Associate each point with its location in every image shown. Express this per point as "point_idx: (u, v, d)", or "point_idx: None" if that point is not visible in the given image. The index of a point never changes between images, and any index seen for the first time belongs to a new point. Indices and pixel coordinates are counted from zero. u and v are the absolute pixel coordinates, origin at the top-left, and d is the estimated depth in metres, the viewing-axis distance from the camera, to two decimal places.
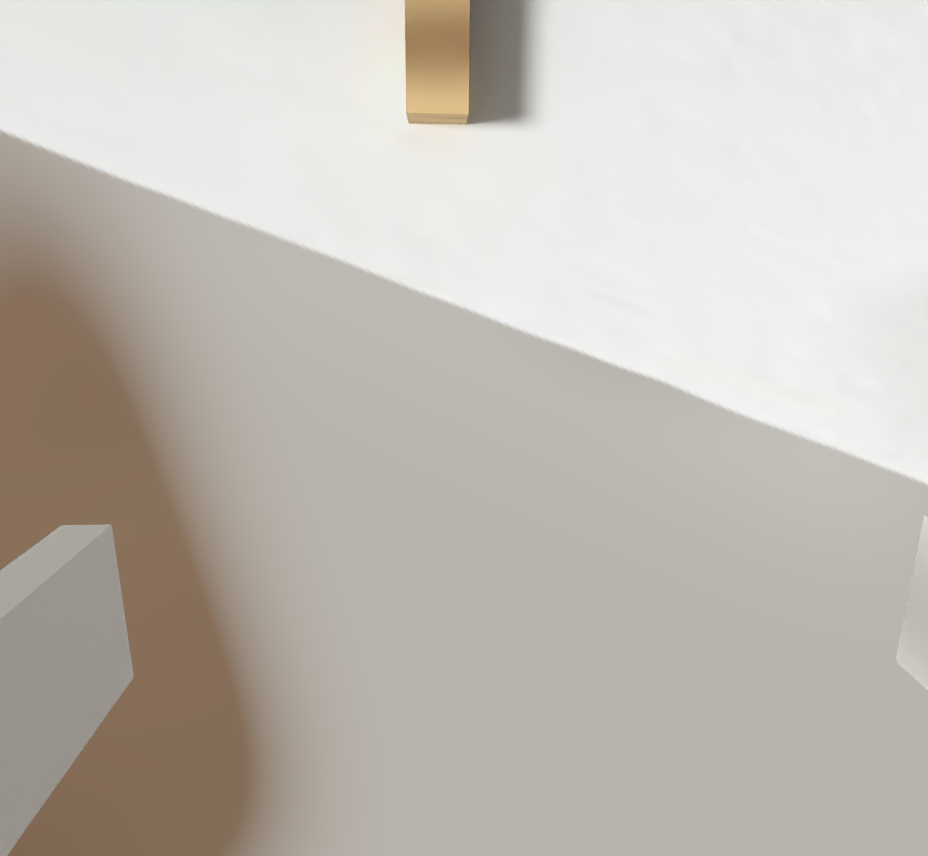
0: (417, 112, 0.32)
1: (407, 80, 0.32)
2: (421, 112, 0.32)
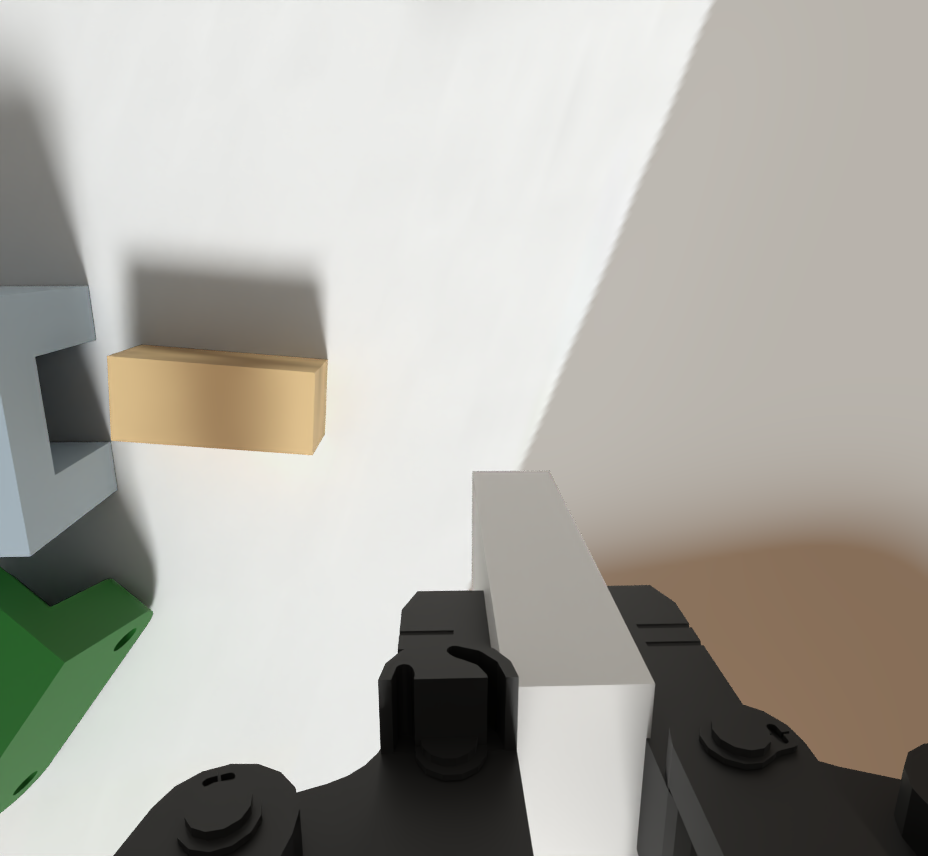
0: (312, 440, 0.24)
1: (272, 450, 0.24)
2: (312, 435, 0.24)
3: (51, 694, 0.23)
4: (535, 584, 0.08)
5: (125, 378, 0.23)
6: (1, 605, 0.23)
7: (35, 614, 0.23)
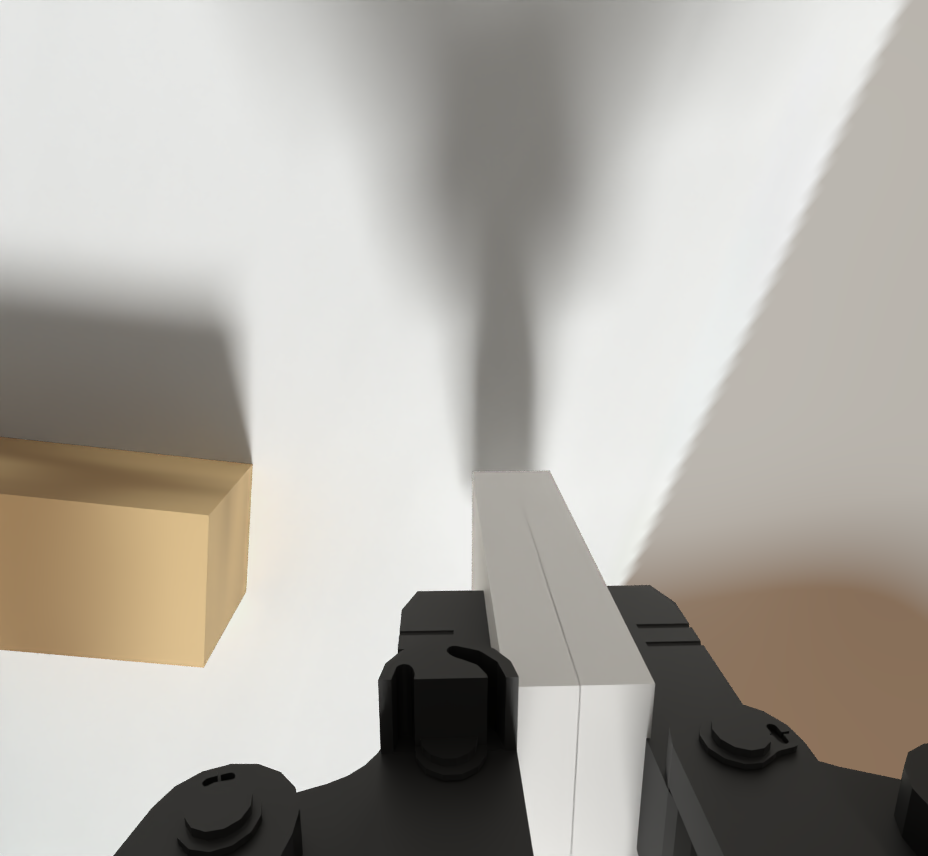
0: (202, 642, 0.12)
1: (124, 655, 0.12)
2: (203, 631, 0.12)
3: None
4: (535, 584, 0.08)
5: None
6: None
7: None
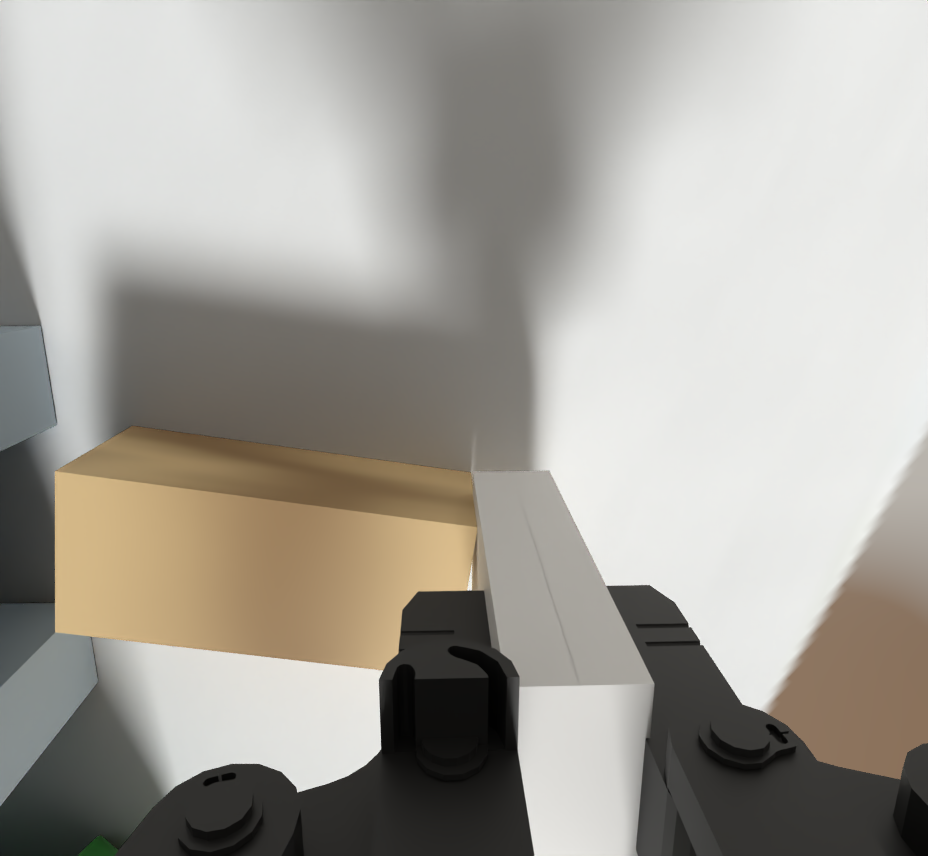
0: None
1: (374, 664, 0.12)
2: None
3: None
4: (536, 584, 0.08)
5: (90, 516, 0.11)
6: None
7: None
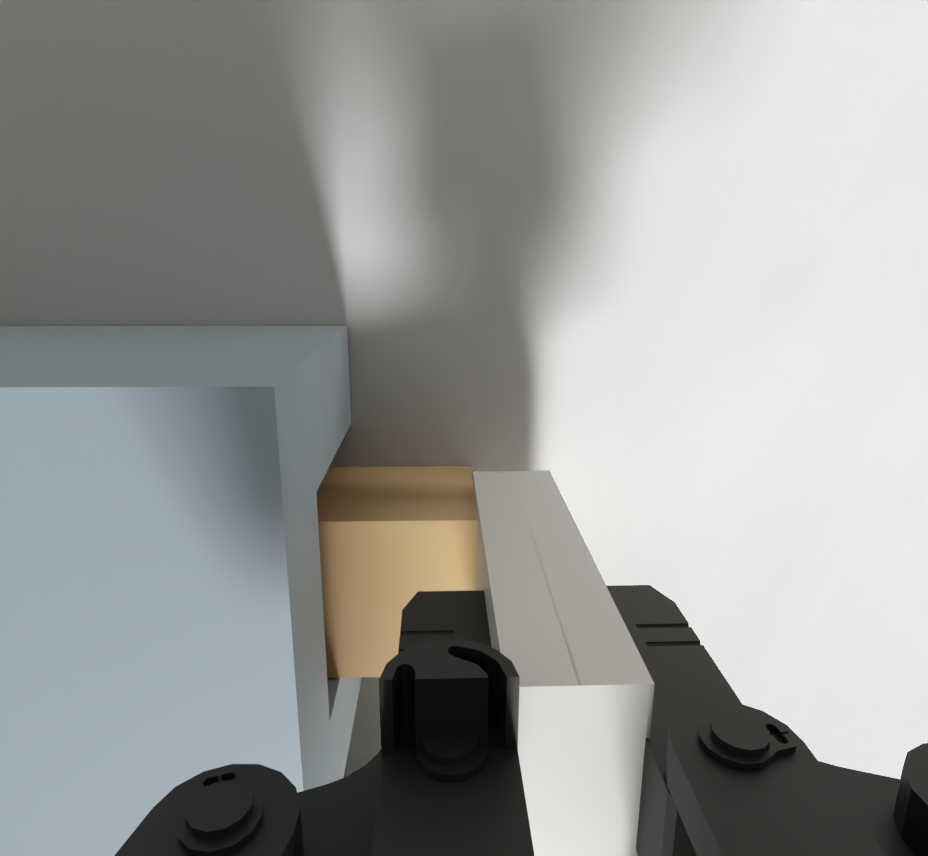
0: None
1: None
2: None
3: None
4: (536, 584, 0.08)
5: None
6: None
7: None
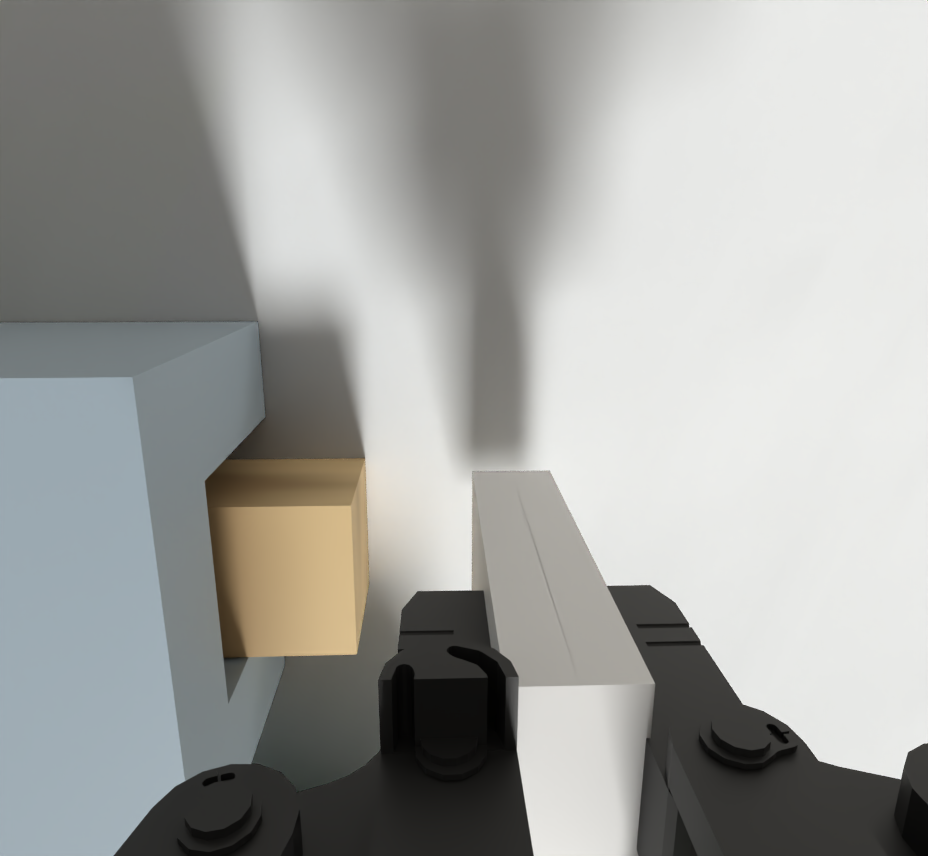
0: (354, 629, 0.12)
1: (280, 651, 0.13)
2: (353, 619, 0.12)
3: None
4: (535, 584, 0.08)
5: None
6: None
7: None
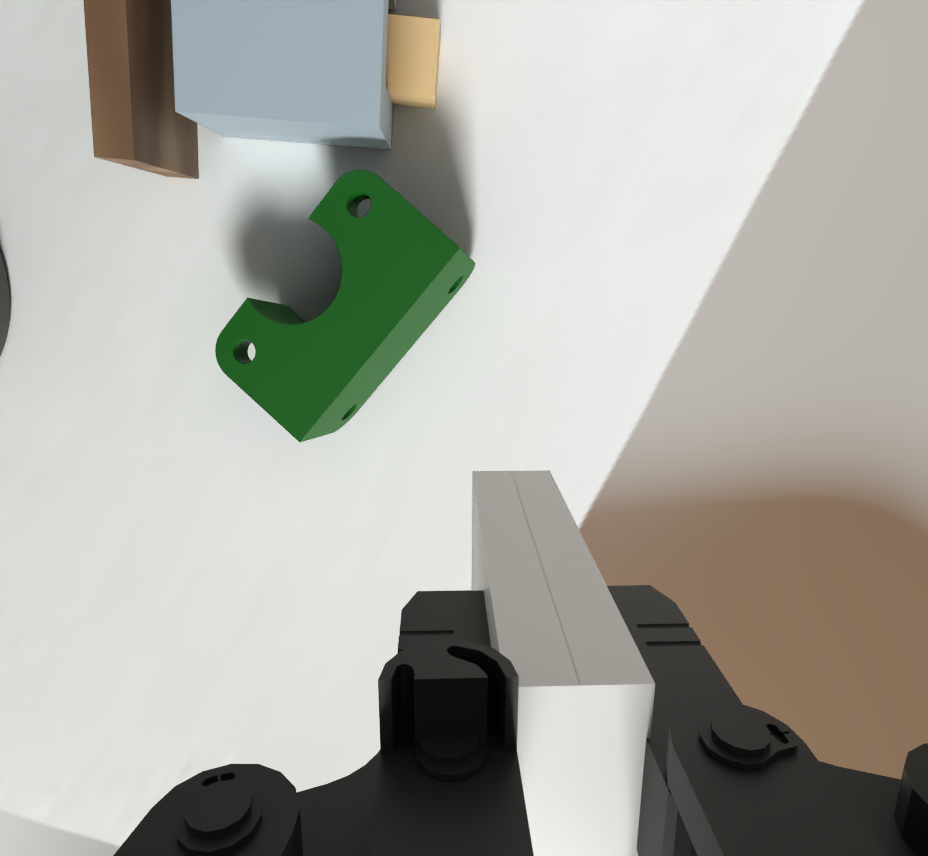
0: (434, 82, 0.29)
1: (402, 90, 0.29)
2: (435, 77, 0.29)
3: (432, 286, 0.29)
4: (535, 584, 0.08)
5: None
6: (408, 202, 0.28)
7: None
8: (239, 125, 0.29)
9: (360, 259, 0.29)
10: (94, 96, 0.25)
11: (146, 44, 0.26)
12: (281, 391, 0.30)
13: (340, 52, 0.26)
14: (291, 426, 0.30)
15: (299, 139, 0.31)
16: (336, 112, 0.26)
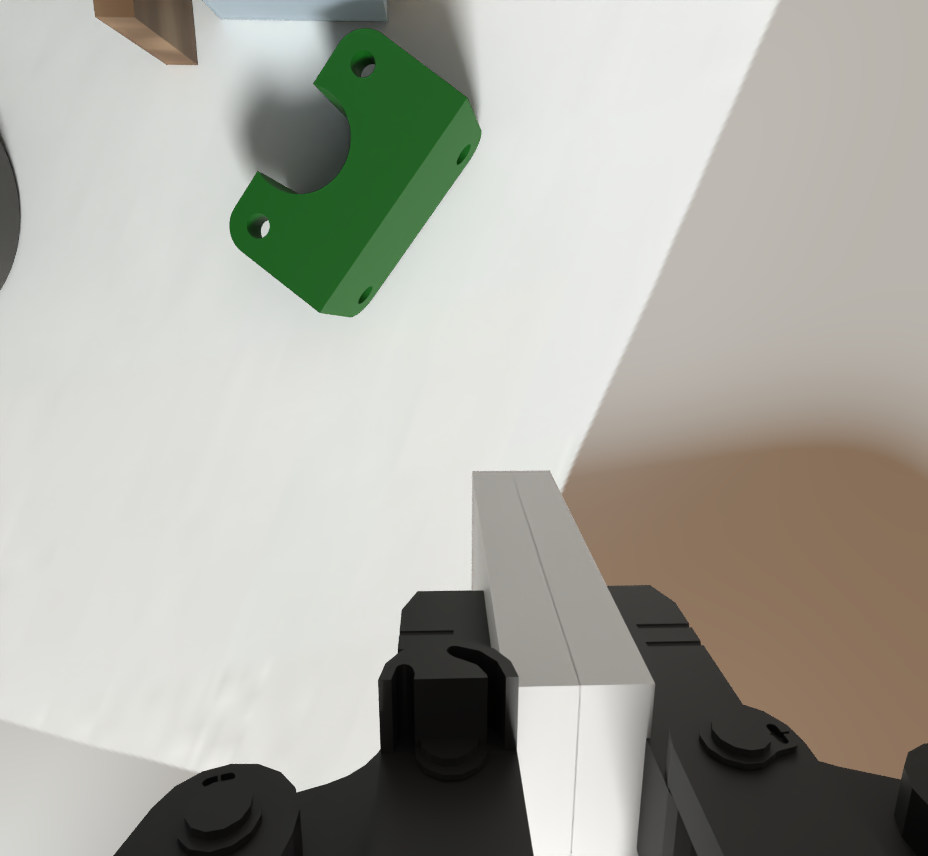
0: None
1: None
2: None
3: (442, 144, 0.29)
4: (535, 584, 0.08)
5: None
6: (413, 57, 0.28)
7: None
8: None
9: (368, 120, 0.29)
10: None
11: None
12: (297, 262, 0.30)
13: None
14: (310, 297, 0.30)
15: (296, 13, 0.31)
16: None
